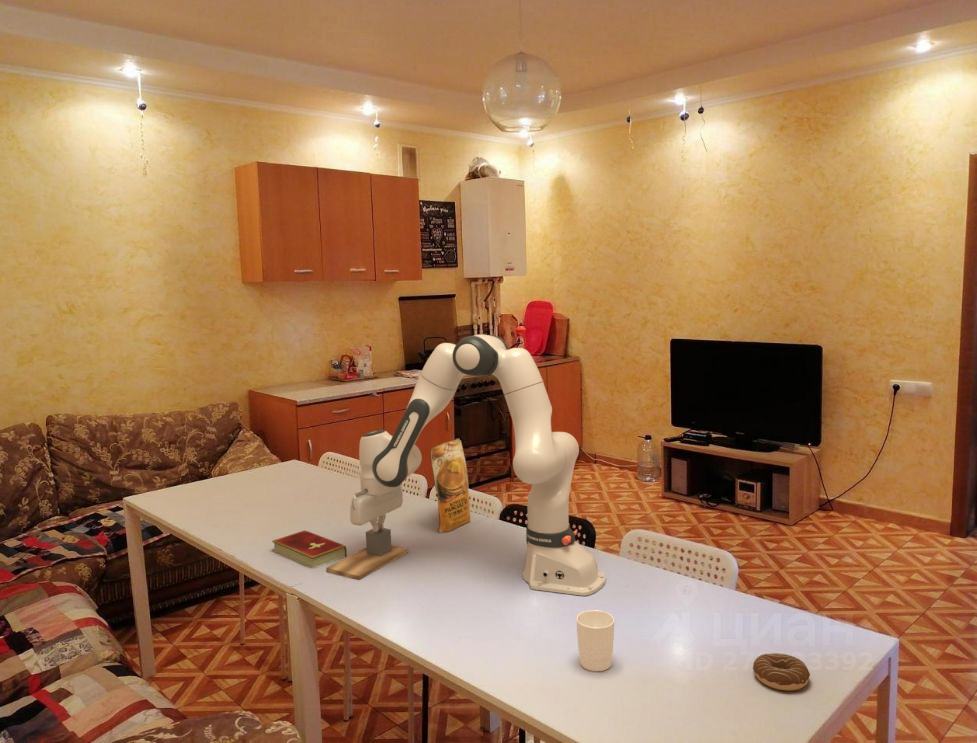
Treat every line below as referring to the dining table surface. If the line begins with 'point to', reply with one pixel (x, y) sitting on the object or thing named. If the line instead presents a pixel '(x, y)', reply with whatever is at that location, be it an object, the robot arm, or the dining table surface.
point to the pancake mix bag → (451, 485)
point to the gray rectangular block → (378, 542)
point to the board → (364, 563)
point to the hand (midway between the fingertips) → (378, 530)
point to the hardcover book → (309, 548)
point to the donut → (781, 671)
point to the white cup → (595, 639)
